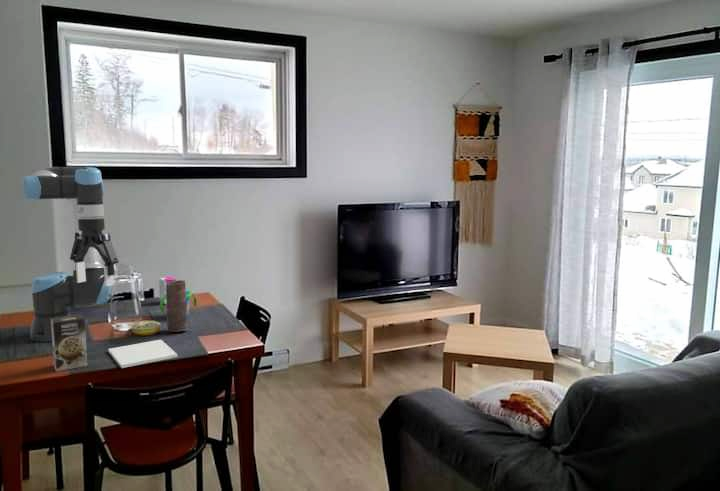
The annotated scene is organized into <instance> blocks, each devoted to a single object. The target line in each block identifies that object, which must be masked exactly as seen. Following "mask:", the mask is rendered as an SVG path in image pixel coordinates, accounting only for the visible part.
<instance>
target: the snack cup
mask: <svg viewBox="0 0 720 491" xmlns="http://www.w3.org/2000/svg"><path fill="white" fill-rule="evenodd" d="M192 297H193V298H194V300H193V306H194V307H197V306H198V300H197V296H196V294H195V293H192V292H191V291H189V290H186V309H187V317H188V316H189V314H190V304H191V299H192ZM165 299H166V300H167V298H166V294H165V296H164V297H163V298H162V299H161V302H160V301H159V310H160V312H162V313H164V304H163V301H164V300H165Z"/></svg>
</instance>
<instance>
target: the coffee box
mask: <svg viewBox="0 0 720 491" xmlns="http://www.w3.org/2000/svg"><path fill="white" fill-rule="evenodd" d="M51 330H52V341H51V343H52V344H51V345H52V358H53V359H52V361H53V364H52V365H53V367H54V369H55V371H56V372H61V371H62V372H63V371H66V370H71V369H77V368H82V367H87V366H88V359H87V356H88V355H87V339H86V337H87V336H86V321H85V318H84V316H83V315H82V314H80V313H79V314H73V315H70V316H64V317H56V318H51Z"/></svg>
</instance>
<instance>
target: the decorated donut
mask: <svg viewBox="0 0 720 491" xmlns="http://www.w3.org/2000/svg"><path fill="white" fill-rule="evenodd" d="M161 327H162V324H161V322H159V321H156V320H141V321H138V322H136V323H134V324H132V326H131V331H132V333H133V334H134V335H137V336H141V337H142V336H143V337H144V336H152V335H155V334H156V333H158V332H159V331H160V330H161Z"/></svg>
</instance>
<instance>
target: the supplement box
mask: <svg viewBox="0 0 720 491" xmlns="http://www.w3.org/2000/svg"><path fill="white" fill-rule="evenodd" d="M158 281H159V282H158V285H159V286H158V287H159V288H158V289H159V293H158V294H159V303H160V302H161V299H162V298H163V297H164V296H165V294H166V284H167V283H168V282H169V281H177V279H176V278H174V277H173V276H166V277H159V278H158ZM165 305H166V306H167V300H166V299H165V300H164V301H163V306H165Z"/></svg>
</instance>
